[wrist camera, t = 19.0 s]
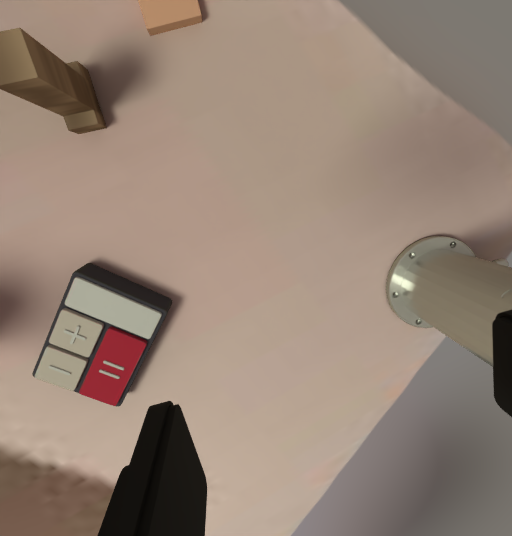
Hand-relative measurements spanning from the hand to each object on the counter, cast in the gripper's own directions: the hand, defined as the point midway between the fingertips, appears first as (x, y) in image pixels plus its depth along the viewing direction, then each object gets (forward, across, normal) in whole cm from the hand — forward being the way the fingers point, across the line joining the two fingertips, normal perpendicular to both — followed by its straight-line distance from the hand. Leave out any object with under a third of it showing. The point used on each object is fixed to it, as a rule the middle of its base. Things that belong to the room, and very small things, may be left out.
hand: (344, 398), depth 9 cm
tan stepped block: (+30, +14, -18) cm, 38 cm away
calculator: (+31, +21, +8) cm, 38 cm away
